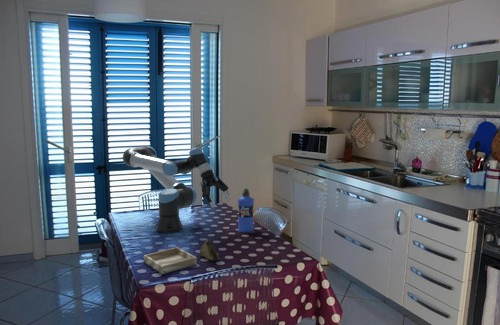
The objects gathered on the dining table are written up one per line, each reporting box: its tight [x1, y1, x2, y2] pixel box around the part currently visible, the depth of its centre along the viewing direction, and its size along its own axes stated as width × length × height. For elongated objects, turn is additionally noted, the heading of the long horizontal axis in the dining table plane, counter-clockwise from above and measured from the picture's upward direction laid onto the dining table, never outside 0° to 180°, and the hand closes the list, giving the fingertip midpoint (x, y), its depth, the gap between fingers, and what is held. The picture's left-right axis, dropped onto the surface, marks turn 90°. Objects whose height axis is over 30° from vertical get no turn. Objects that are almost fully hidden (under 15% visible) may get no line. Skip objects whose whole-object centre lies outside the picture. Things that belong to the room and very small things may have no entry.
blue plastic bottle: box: [237, 188, 255, 233], centre depth 248 cm, size 9×9×25 cm
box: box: [143, 246, 198, 275], centre depth 199 cm, size 18×18×4 cm
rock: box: [199, 239, 220, 261], centre depth 207 cm, size 11×9×10 cm
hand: (221, 204), depth 244 cm, fingers open, 13 cm apart
